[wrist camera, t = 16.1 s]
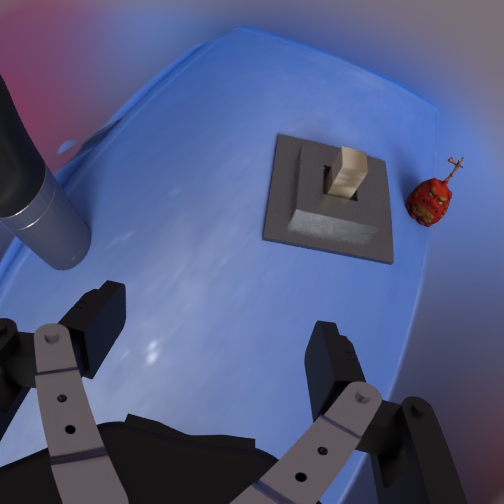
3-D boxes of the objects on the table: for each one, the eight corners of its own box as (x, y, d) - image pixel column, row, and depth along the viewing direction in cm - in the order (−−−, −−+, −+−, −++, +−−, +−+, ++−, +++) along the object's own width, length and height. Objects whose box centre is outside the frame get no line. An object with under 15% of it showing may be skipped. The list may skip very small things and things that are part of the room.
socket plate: (262, 239, 48) (266, 228, 45) (277, 137, 57) (281, 122, 53) (390, 264, 49) (402, 255, 45) (383, 164, 58) (391, 152, 54)
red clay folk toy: (399, 212, 54) (443, 165, 40) (408, 188, 56) (448, 142, 43) (430, 234, 53) (478, 194, 39) (437, 210, 55) (480, 169, 42)
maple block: (323, 200, 51) (342, 165, 43) (324, 181, 53) (342, 146, 44) (345, 205, 51) (367, 172, 43) (345, 186, 53) (366, 152, 44)
